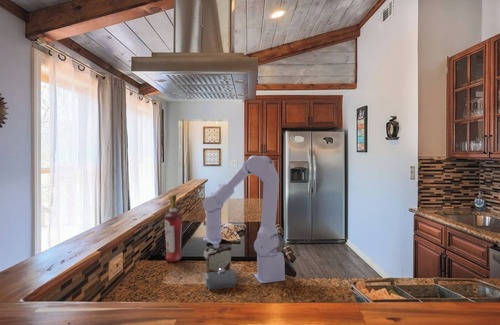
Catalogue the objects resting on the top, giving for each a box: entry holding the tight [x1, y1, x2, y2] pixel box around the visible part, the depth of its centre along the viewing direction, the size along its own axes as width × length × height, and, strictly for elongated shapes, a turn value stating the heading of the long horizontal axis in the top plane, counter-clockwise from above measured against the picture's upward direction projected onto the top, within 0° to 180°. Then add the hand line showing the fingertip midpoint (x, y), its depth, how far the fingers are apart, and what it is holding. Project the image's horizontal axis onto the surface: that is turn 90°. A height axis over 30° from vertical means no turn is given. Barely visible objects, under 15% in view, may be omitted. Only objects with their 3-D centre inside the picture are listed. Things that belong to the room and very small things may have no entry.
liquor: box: [164, 194, 183, 263], centre depth 124 cm, size 7×7×28 cm
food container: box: [203, 243, 234, 273], centre depth 109 cm, size 12×6×10 cm, turn 137°
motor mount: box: [203, 268, 237, 291], centre depth 100 cm, size 10×7×6 cm
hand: (213, 261), depth 114 cm, fingers closed
